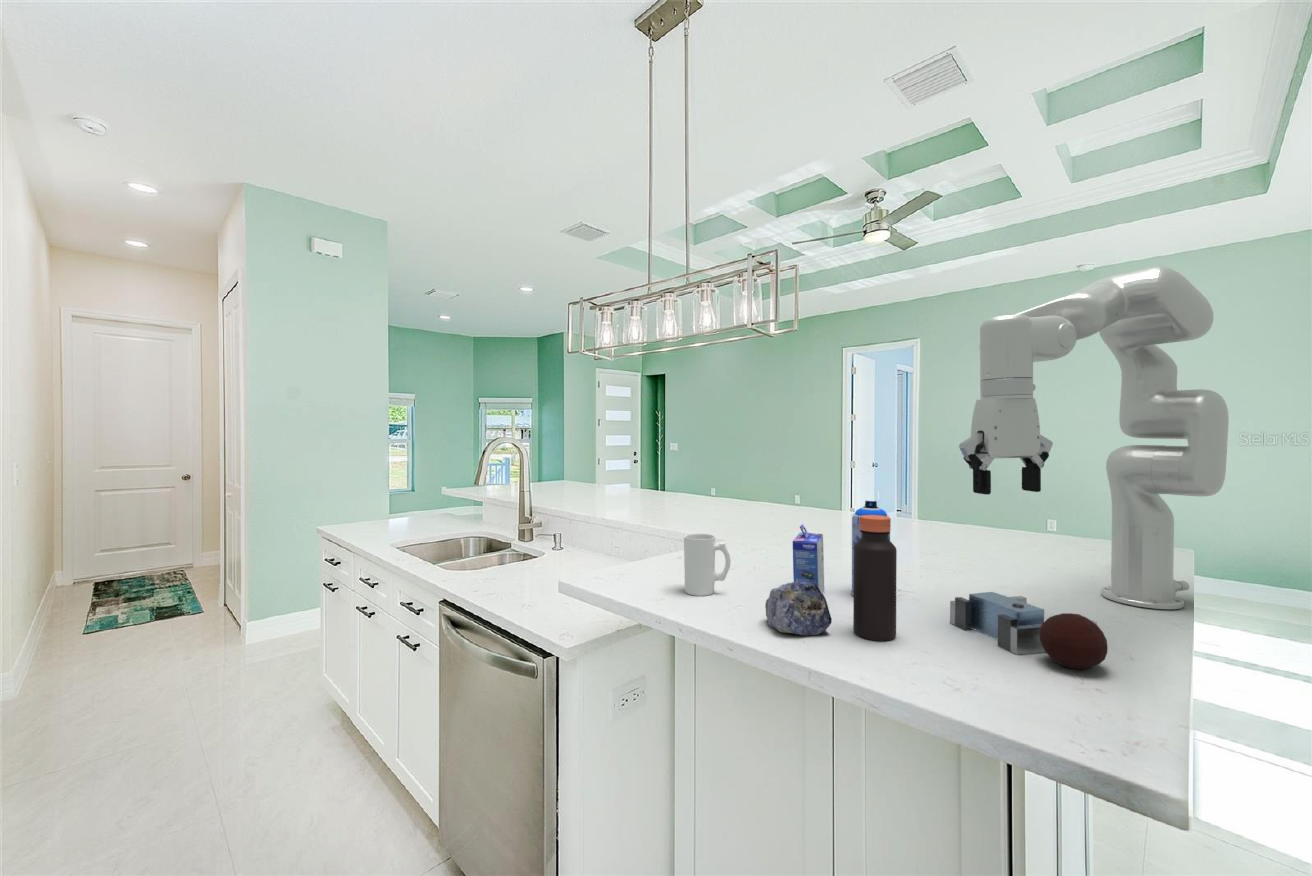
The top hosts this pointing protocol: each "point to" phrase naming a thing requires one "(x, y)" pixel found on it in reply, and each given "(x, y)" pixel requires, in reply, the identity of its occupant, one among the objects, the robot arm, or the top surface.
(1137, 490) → the robot arm
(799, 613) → the rock
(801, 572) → the ink cartridge box
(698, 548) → the mug
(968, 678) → the top surface
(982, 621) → the lock block
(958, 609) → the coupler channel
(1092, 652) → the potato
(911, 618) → the top surface
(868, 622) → the bottle
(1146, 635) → the top surface
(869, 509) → the aerosol can
